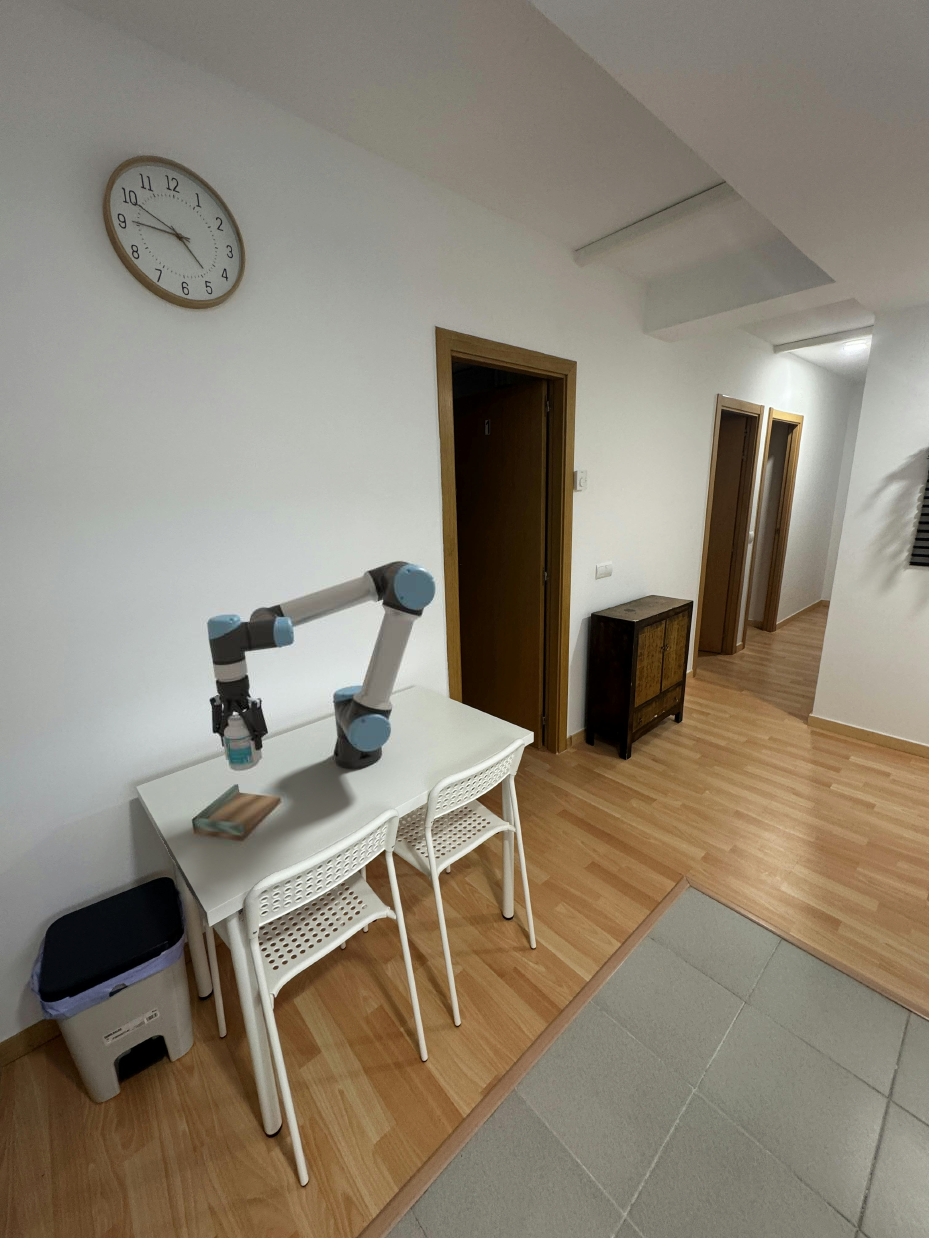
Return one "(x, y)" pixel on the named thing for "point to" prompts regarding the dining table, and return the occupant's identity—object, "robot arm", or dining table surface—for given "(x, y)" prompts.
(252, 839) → the dining table surface
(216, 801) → the rail board
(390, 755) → the dining table surface
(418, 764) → the dining table surface
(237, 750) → the pill bottle
